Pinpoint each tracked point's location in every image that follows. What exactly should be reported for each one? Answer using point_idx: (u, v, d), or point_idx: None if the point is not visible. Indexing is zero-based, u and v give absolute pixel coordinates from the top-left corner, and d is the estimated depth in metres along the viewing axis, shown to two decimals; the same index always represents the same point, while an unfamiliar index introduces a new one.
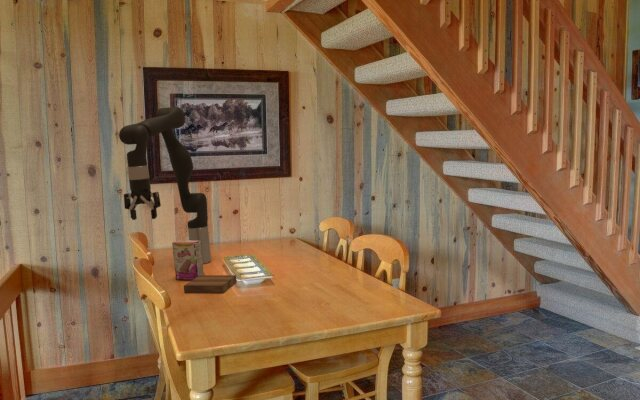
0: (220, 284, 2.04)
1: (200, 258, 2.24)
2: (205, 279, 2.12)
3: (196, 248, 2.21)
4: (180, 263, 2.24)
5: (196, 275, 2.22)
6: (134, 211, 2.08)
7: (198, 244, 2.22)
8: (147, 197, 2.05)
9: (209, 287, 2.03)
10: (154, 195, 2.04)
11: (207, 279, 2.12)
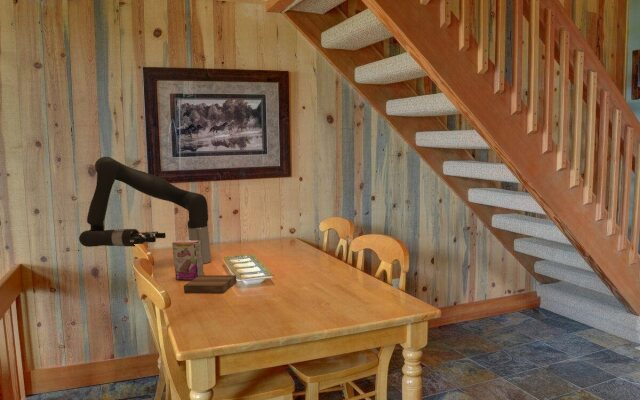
0: (220, 284, 2.04)
1: (200, 258, 2.24)
2: (205, 279, 2.12)
3: (196, 248, 2.21)
4: (180, 263, 2.24)
5: (196, 275, 2.22)
6: (158, 235, 2.31)
7: (198, 244, 2.22)
8: (138, 241, 2.25)
9: (209, 287, 2.03)
10: (132, 243, 2.22)
11: (207, 279, 2.12)
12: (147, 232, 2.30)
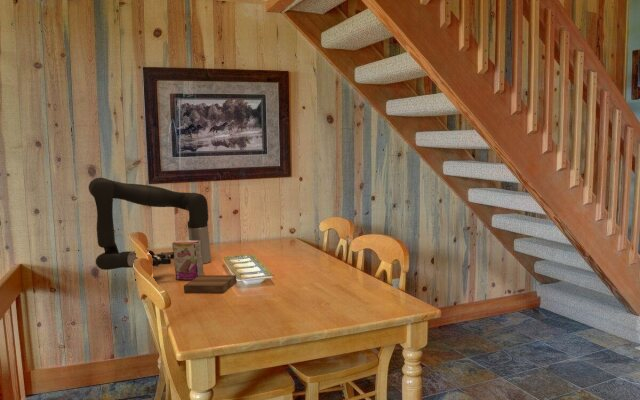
0: (220, 284, 2.04)
1: (200, 258, 2.24)
2: (205, 279, 2.12)
3: (196, 248, 2.21)
4: (180, 263, 2.24)
5: (196, 275, 2.22)
6: (173, 256, 2.31)
7: (198, 244, 2.22)
8: (153, 263, 2.25)
9: (209, 287, 2.03)
10: None
11: (207, 279, 2.12)
12: (162, 253, 2.30)
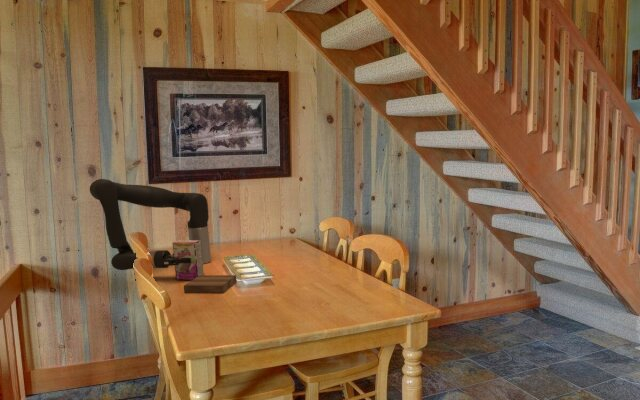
0: (220, 284, 2.04)
1: (200, 258, 2.24)
2: (205, 279, 2.12)
3: (196, 248, 2.21)
4: None
5: (196, 275, 2.22)
6: None
7: (198, 244, 2.22)
8: None
9: (209, 287, 2.03)
10: (167, 265, 2.21)
11: (207, 279, 2.12)
12: None
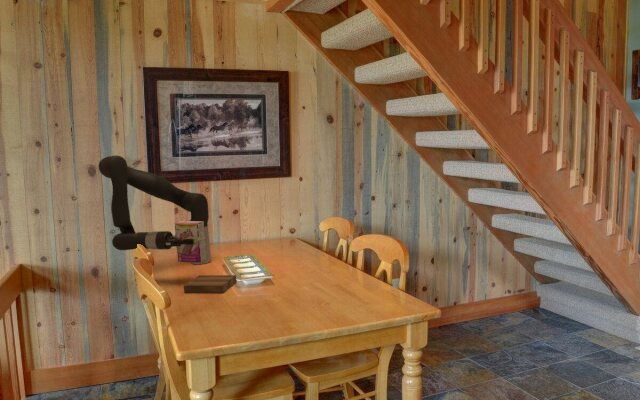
0: (220, 284, 2.04)
1: (203, 240, 2.18)
2: (205, 279, 2.12)
3: (199, 229, 2.15)
4: None
5: (199, 257, 2.16)
6: None
7: (201, 224, 2.16)
8: None
9: (209, 287, 2.03)
10: (169, 246, 2.15)
11: (207, 279, 2.12)
12: None
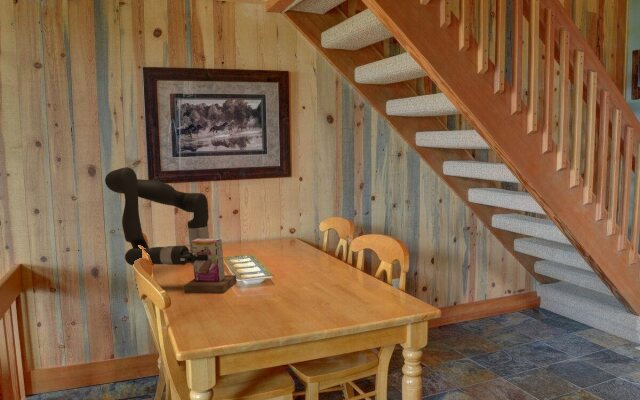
0: (220, 284, 2.04)
1: (221, 258, 2.09)
2: None
3: (217, 247, 2.06)
4: (199, 263, 2.08)
5: (217, 276, 2.07)
6: None
7: (219, 242, 2.07)
8: (188, 259, 2.08)
9: (209, 287, 2.03)
10: None
11: None
12: None
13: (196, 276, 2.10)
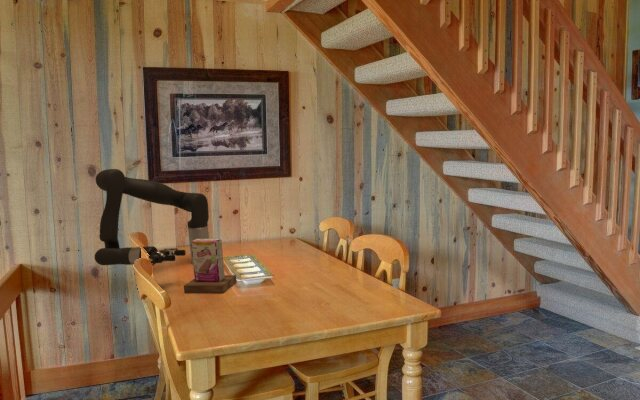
0: (220, 284, 2.04)
1: (221, 258, 2.09)
2: None
3: (217, 247, 2.06)
4: (199, 263, 2.08)
5: (217, 276, 2.07)
6: (177, 252, 2.16)
7: (219, 242, 2.07)
8: (156, 260, 2.11)
9: (209, 287, 2.03)
10: (151, 262, 2.08)
11: None
12: (166, 249, 2.16)
13: (196, 276, 2.10)
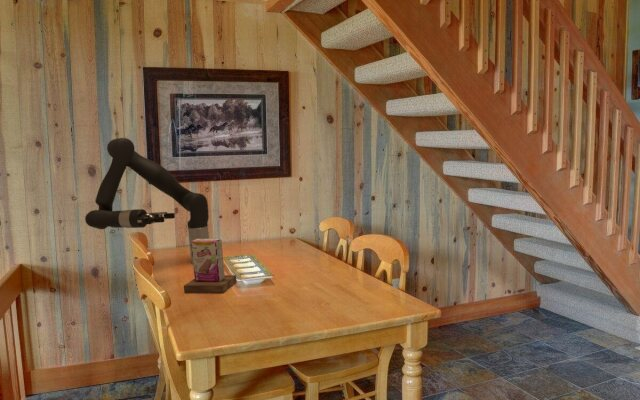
0: (220, 284, 2.04)
1: (221, 258, 2.09)
2: None
3: (217, 247, 2.06)
4: (199, 263, 2.08)
5: (217, 276, 2.07)
6: (166, 215, 2.19)
7: (219, 242, 2.07)
8: (146, 222, 2.14)
9: (209, 287, 2.03)
10: (140, 224, 2.11)
11: None
12: (155, 212, 2.19)
13: (196, 276, 2.10)
